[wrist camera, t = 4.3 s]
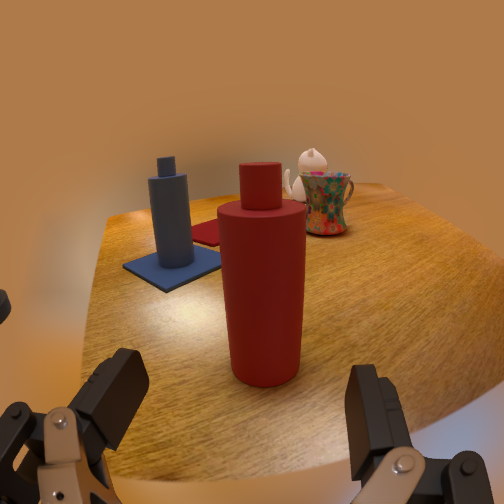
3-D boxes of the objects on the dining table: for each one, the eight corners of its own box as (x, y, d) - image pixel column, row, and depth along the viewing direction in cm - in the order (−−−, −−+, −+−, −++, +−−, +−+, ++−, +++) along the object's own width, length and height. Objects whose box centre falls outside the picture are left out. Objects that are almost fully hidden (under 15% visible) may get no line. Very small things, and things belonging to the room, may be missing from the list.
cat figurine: (325, 205, 74) (326, 148, 68) (279, 203, 78) (278, 148, 72) (328, 199, 82) (328, 148, 76) (287, 197, 86) (286, 147, 80)
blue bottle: (172, 271, 37) (159, 158, 31) (152, 262, 40) (139, 160, 35) (202, 259, 40) (193, 154, 35) (180, 252, 43) (171, 156, 38)
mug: (320, 241, 47) (321, 177, 43) (289, 228, 55) (288, 172, 51) (367, 231, 52) (371, 175, 48) (335, 220, 59) (337, 170, 56)
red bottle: (271, 398, 18) (269, 167, 12) (217, 366, 21) (195, 167, 16) (311, 357, 21) (322, 162, 16) (260, 335, 24) (254, 160, 19)
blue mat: (166, 292, 32) (165, 289, 32) (122, 267, 40) (122, 264, 39) (236, 260, 41) (236, 257, 41) (185, 244, 48) (184, 241, 48)
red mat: (213, 247, 46) (213, 244, 46) (171, 235, 54) (171, 232, 54) (260, 229, 55) (260, 226, 55) (216, 220, 62) (216, 218, 62)
